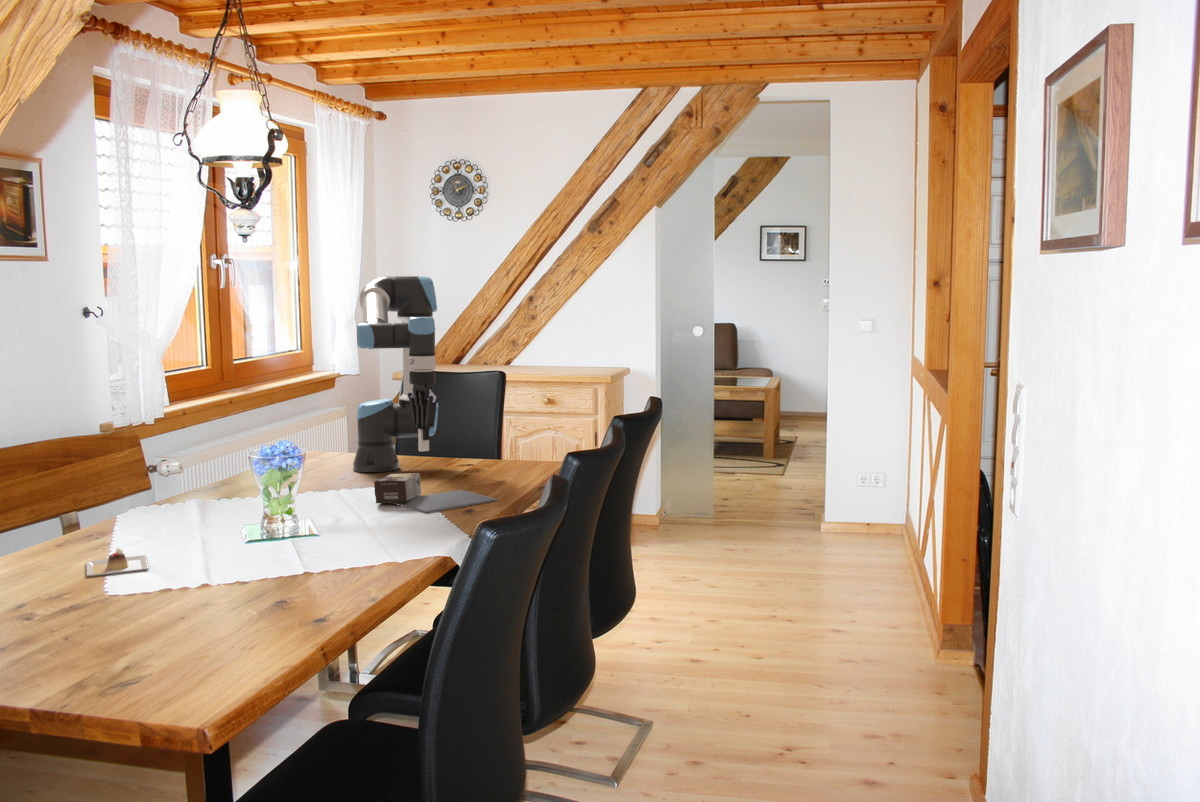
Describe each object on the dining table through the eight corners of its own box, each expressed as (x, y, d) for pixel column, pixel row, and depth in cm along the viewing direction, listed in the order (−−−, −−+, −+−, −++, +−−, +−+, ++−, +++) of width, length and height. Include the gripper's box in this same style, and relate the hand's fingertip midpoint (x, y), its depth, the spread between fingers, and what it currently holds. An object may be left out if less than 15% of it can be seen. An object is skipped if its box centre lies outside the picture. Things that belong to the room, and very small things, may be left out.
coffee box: (391, 495, 293) (374, 504, 277) (390, 473, 293) (372, 481, 277) (422, 493, 292) (406, 502, 276) (420, 472, 292) (404, 479, 276)
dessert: (86, 580, 208) (85, 558, 208) (86, 566, 219) (85, 545, 218) (149, 573, 214) (148, 551, 213) (146, 559, 224) (145, 539, 224)
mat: (391, 502, 282) (391, 500, 282) (461, 491, 298) (461, 489, 298) (425, 513, 269) (425, 511, 268) (497, 501, 285) (497, 498, 285)
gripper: (399, 369, 289) (400, 449, 291) (423, 372, 279) (425, 455, 282) (421, 368, 294) (422, 447, 296) (445, 371, 284) (447, 452, 287)
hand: (423, 450), depth 289 cm, fingers closed
